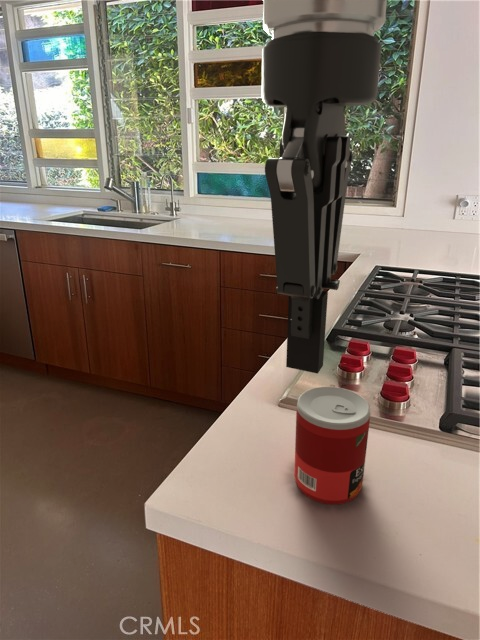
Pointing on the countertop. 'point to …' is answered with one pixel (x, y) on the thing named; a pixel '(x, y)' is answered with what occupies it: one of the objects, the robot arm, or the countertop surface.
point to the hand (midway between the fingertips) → (304, 366)
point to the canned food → (331, 444)
